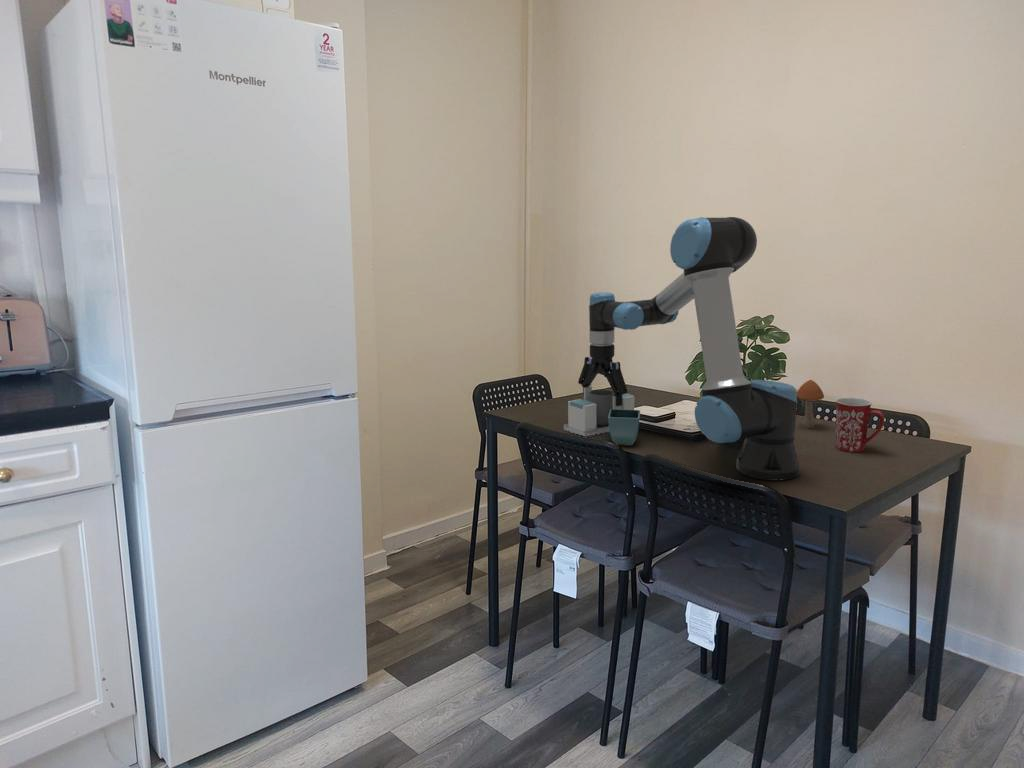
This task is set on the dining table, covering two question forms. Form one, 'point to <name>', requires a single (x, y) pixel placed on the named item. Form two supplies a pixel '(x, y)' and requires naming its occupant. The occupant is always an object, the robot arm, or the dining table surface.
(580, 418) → the block
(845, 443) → the mug
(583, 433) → the grey flat slab
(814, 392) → the mushroom
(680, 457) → the dining table surface
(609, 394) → the cup
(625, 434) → the flower pot
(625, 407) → the block
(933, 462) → the dining table surface
